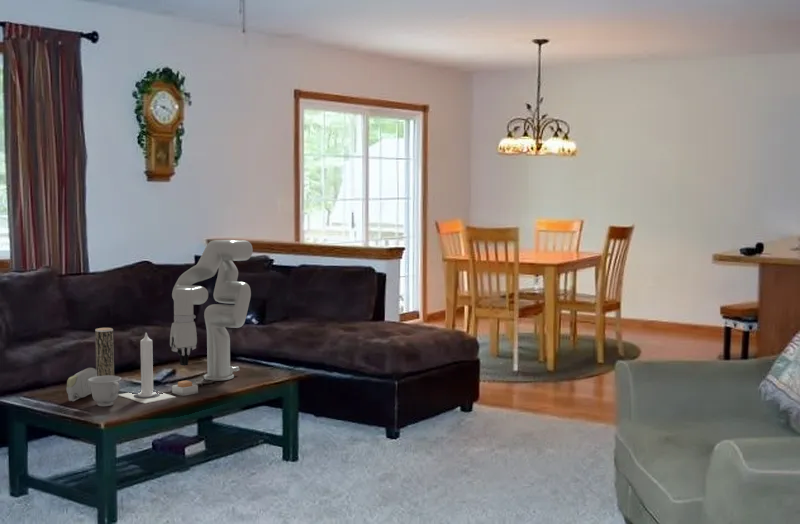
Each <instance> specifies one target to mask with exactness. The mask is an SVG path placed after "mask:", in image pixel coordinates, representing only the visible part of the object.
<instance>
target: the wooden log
mask: <svg viewBox="0 0 800 524" xmlns="http://www.w3.org/2000/svg"><path fill="white" fill-rule="evenodd" d="M94 331H95V333H94V338H95V341H94V342H95V369H96V371H97V376H105V375H112V376H115V362H114V361H115V360H114V357H115V355H114V353H115V352H114V329H113V328H112V327H99V328H98V327H97V328H95V330H94Z"/></svg>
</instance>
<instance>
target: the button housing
mask: <svg viewBox="0 0 800 524" xmlns="http://www.w3.org/2000/svg"><path fill="white" fill-rule="evenodd" d="M171 393H172V394H174V395H178V396H181V397H184V396H191V395H194V394H195V395H196V394H199V385H197V384H193V383H192V386H189V387H184V388H183V387H180V386H178V384H174V385H172V386H171Z"/></svg>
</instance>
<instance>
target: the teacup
mask: <svg viewBox="0 0 800 524" xmlns="http://www.w3.org/2000/svg"><path fill="white" fill-rule="evenodd" d="M121 380H122V377H121V376H119V375H114V376H112V375H105V376H96V377H92V378H89V379H88V381H89V382H90V385H91V391H92V393H91V395H92V399H93V400H94V402H96V403H97V406H98V407H109V406H113V405H114V401H115V400H117V398H118V397H119V396H118V394H119V391H120V390H121V389H120V381H121Z"/></svg>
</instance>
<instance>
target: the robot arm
mask: <svg viewBox="0 0 800 524" xmlns="http://www.w3.org/2000/svg"><path fill="white" fill-rule="evenodd" d="M253 252H254V251H253V245H252V243H251V242H250V241H249V240H242V239H241V240H238V239H235V240H234V239H215V240H214V239H213V240H211V241H209V242H208V243H207V244H206V246H205V248H204V250H203V252H202V254H201V256H200V258H199V259H198V262H197V263H196V265H195V264H194V265H193V266H192V267H190V268H189V269H187V270H186V271H184V272H183V273H182V274H181V275H179V277H178V279H177V280H176V282H175V284H174V286H173V288H172V293H171V297H172V299H173V322H172V323H171V328H170V334H169V346H170V348H171V352H174V353H177V354H178V355H179V365H181V366H184V367H185V366H188V365H189V356H190V354H191V352H192V351H193V350H195V349H197V343H198V336H197V335H198V333H197V326H196V322H195V321H194V319H196V317H197V316H196V315H195V314H194V306H195V305H203V304H204V303H205V304H206V302H207V300H208V298H209V291H208V289H207V288H206V287H204V286H203V285H202V286H201V285H194V284H196V283H199V282H203V281H206V280H208V279H211V278H212V277H215V275H216V274H217V278H216V280H215V286H214V289H213V299H214V301H215V302H216V303H217V302H218V303H219V304H218V303H217V304H215V303H214V304H209V305H208V306H207V307H206V308H205V309H204V313H203V314H204V315H203V317H204V323H205V328H206V348H207V350H206V352H207V353H206V355H207V356H206V359H207V361H206V362H207V373H206V374H204V375H203V379H204V380H206V381H214V382H216V381H217V382H219V381H228V380H229V381H230V380H232V379H233V378H234V377H235V374H234V372H238V371H240V367H239V366H232V365H231V338H230V337H231V336H230V333H229V331H228V330H227V328H230V329H231V328H236V329H238V328H241V327H242V326H244V325H245V322H246V318H247V315H248V310H249V307H250V301H251V297H252V291H251V287H250V285H249V284H248V283H247V282H244V281H238V277H239V270H238V267H237V266H236V264H235V263H234V262H235V261H237V262H241V261H248V260H249V259H250V258H251V257H252V256H253V255H252V254H253ZM217 272H218V273H217Z"/></svg>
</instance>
